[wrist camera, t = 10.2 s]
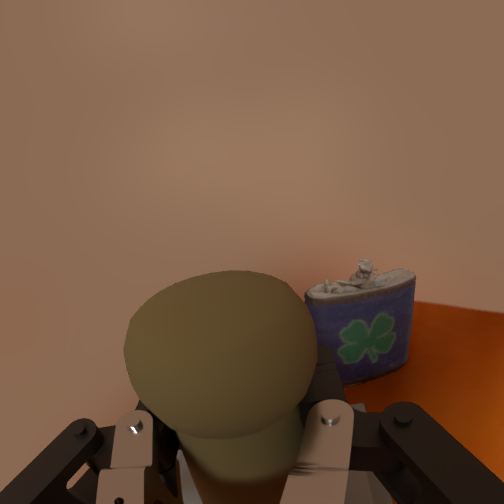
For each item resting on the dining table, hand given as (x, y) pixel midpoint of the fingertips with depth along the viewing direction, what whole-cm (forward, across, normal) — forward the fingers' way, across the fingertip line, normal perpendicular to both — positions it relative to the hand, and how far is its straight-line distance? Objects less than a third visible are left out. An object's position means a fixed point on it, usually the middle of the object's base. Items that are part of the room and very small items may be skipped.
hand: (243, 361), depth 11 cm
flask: (+10, -8, +12) cm, 18 cm away
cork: (-3, 0, +7) cm, 7 cm away
